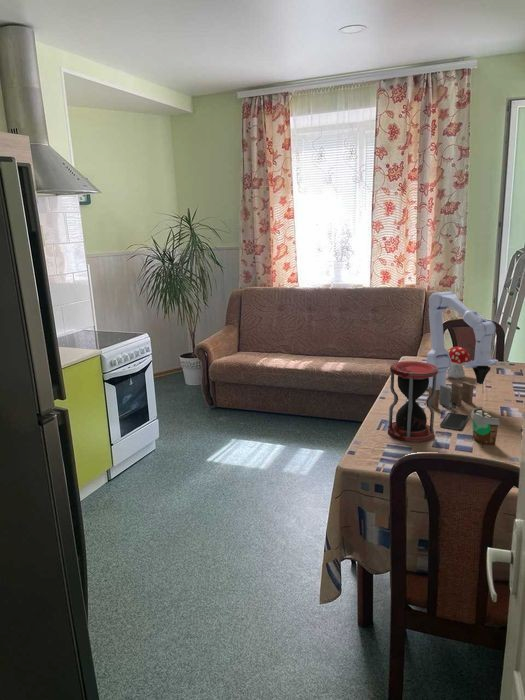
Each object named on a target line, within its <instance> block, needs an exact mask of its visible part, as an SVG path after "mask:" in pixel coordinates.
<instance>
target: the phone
mask: <svg viewBox="0 0 525 700" xmlns="http://www.w3.org/2000/svg"><path fill="white" fill-rule="evenodd" d="M469 419H470V418H469V415H467V414H460V413H456V412H448V413H447V414H446V415H445V417H444V418H443V420H442V421H441V422H440V424H439V427H440V428H442V429H448V430H452V429H453V430H454V431H459V432H461V431H462V430H463V429H464V427H465V425H466V424H467V422H468V420H469Z"/></svg>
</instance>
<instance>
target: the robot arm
mask: <svg viewBox="0 0 525 700" xmlns="http://www.w3.org/2000/svg"><path fill="white" fill-rule="evenodd" d="M428 307H429V308H428V318H429V319H428V320H429V329H430V330H429V331H430V344H431V349H430V350H429V351H428V353H427V354H426V362H425V363H429V364H432V365H434V366H436V367H437V368H438V374H437V377H436V388H437V389H439V393H440V385H446V386H447V375H448V374H447V371H448V369H449V367H450V366H451V358H450V356H449V352H448V349H446V348H445V335H444V323H443V313H444V312H445V310H447V309H448V308H451V309H452V310H454V311H455V312H457V314H459V315H460V316H462V317H463V318H462V320H463V322H465V323H466V324H467V325H468V326H469V327H470V328H472V329H473V334H474V339H475V347H474V348H475V349H474V357H473V359H474V360H472V361H471V362H467V363H465V365H464V368H466V369H469V370H470V369H472V370H473V373H474V375H475V379H476V384H479V385H483V384H484V381H485V379H486V377H487V375H488V373H489V372H490V371H491V366H498V365H499V360H498V359H491V351H492V341H493V335H495V333H496V331H497V327H496V324H495V322H493V321H492V320H487V319H486V318H484V317H483V316H482V315H481V314H480V313H478V311H477V310H474V309H471V310H470V309H469V308H468V307H467V306H466V305H465V304H464V303H463V302H462V301H461V300H460V299H459V298H458V295H457V294H455V293H454V292H453V291H452V290H451V291H450V290H449V291H443V292H442V291H441V292H433V293H431V295H430V296H429V297H428ZM432 385H433V377H429V385H428V388H427V391H429V386H432Z"/></svg>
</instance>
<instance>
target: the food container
mask: <svg viewBox="0 0 525 700" xmlns="http://www.w3.org/2000/svg"><path fill="white" fill-rule="evenodd" d="M470 417H471V419H472V438H473V440H474V442H476V443H479V444H482V445H487V446H489V445H490V446H495V445H496V440H497V435H498V429H499V426H500V418H498V417H496V418H495V417H494V416H493V415H492V414H491V413H489V412H487V411H485V410H484V409H483V406H479V407H474V408H473V410H472V411H471V413H470Z"/></svg>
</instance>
